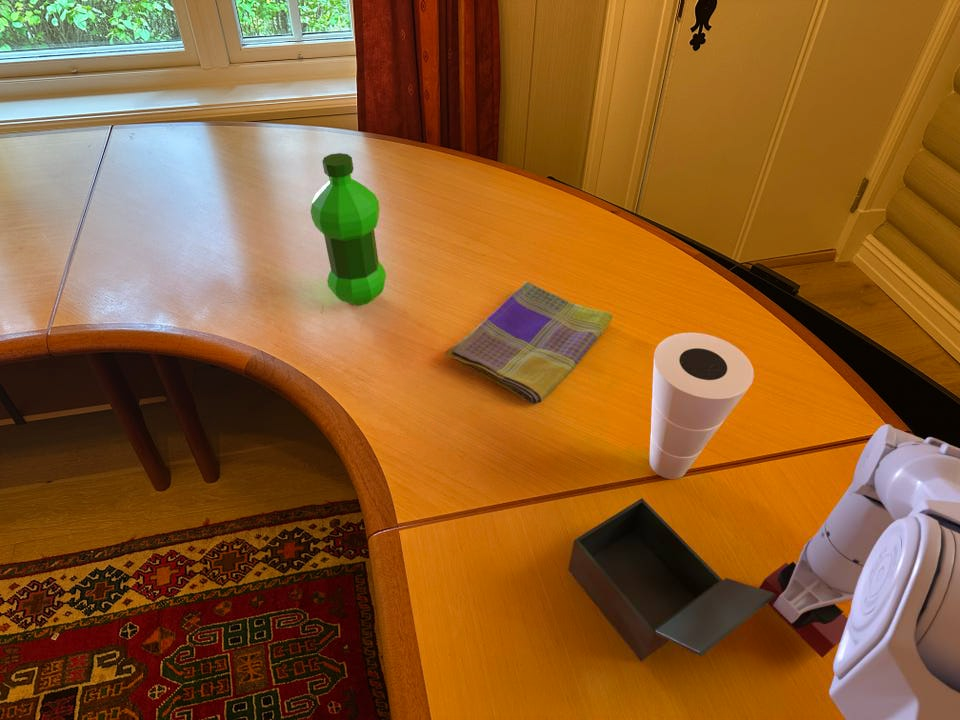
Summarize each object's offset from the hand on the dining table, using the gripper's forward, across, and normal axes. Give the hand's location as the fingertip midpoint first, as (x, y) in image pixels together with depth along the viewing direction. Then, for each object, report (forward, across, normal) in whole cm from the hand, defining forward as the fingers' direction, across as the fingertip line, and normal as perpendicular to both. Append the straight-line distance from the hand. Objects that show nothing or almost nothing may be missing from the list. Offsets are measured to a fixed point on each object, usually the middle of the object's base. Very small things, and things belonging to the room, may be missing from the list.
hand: (803, 608), depth 62 cm
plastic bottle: (+3, -15, +77) cm, 78 cm away
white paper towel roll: (+3, +4, +22) cm, 23 cm away
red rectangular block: (+1, 0, 0) cm, 1 cm away
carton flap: (-6, -11, +4) cm, 13 cm away
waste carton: (+3, -11, +12) cm, 16 cm away
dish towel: (+3, +3, +51) cm, 51 cm away
